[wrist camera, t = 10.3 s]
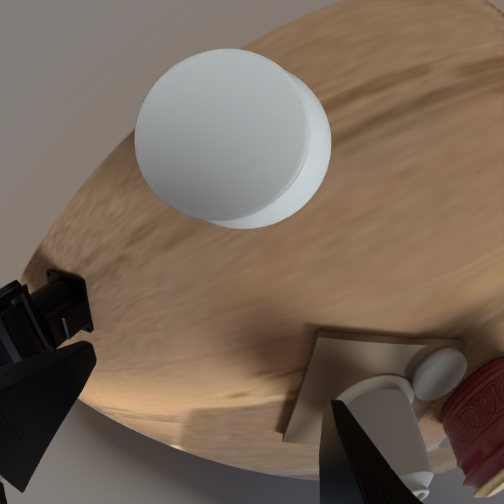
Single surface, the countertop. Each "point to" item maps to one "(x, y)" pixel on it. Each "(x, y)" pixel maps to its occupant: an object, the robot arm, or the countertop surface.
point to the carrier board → (371, 375)
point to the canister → (479, 429)
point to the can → (395, 435)
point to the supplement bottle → (232, 139)
